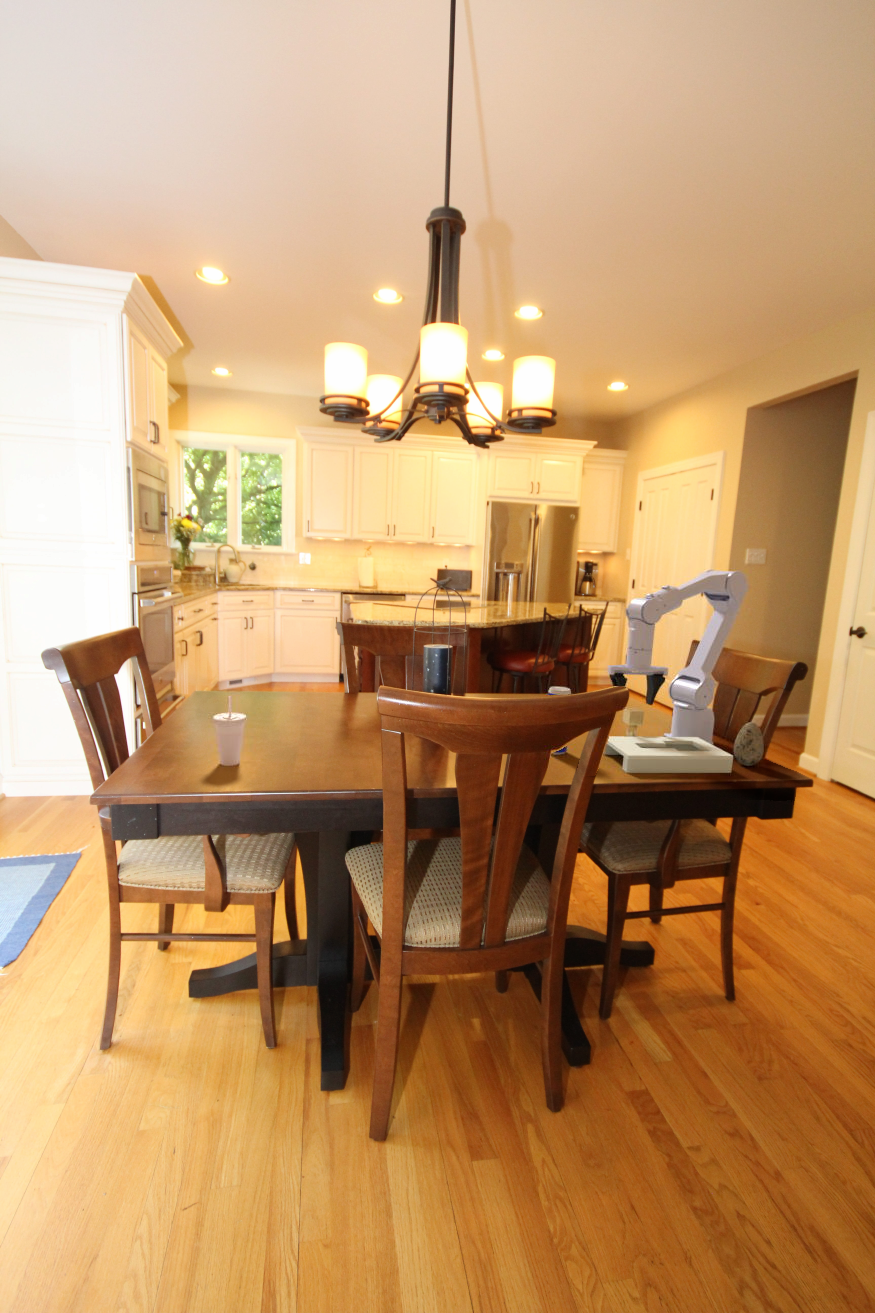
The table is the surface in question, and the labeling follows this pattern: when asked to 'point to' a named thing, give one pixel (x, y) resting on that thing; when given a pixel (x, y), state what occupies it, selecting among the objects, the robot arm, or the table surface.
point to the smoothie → (229, 736)
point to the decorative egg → (749, 745)
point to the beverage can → (559, 691)
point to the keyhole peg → (632, 720)
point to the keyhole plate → (669, 755)
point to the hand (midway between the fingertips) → (634, 704)
